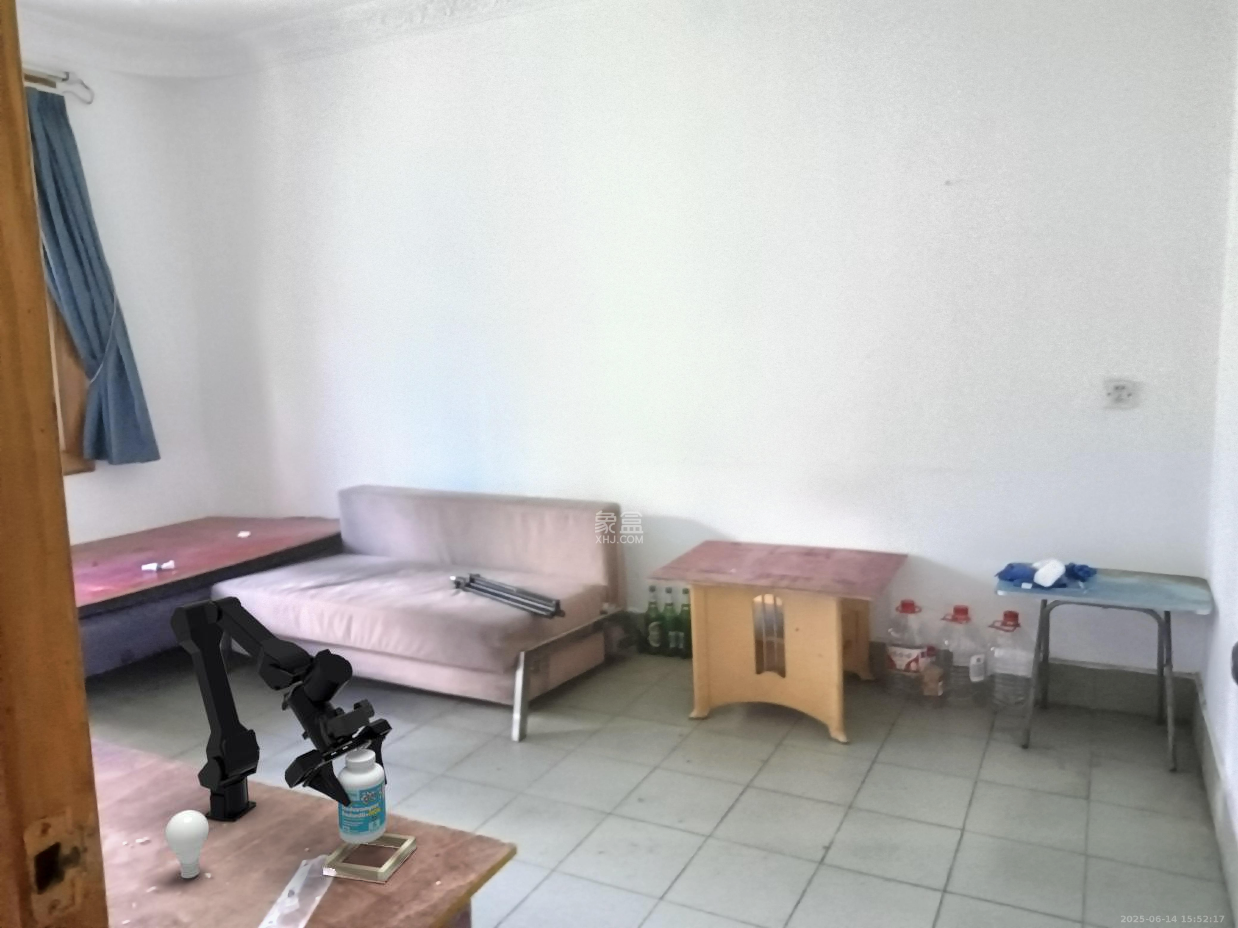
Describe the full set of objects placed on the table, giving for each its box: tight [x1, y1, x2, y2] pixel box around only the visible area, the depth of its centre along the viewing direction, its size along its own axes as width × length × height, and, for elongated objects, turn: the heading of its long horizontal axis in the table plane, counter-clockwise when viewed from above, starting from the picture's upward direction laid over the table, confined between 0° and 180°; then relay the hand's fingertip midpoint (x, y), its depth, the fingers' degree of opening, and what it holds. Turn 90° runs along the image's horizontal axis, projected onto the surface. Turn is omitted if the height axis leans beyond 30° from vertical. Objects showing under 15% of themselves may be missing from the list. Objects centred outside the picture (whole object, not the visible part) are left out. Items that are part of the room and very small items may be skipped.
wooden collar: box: [321, 832, 418, 882], centre depth 152 cm, size 11×11×2 cm
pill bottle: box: [336, 749, 387, 845], centre depth 149 cm, size 8×7×14 cm
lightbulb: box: [164, 809, 210, 879], centre depth 147 cm, size 6×6×11 cm
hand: (367, 794), depth 149 cm, fingers closed on pill bottle, 7 cm apart
